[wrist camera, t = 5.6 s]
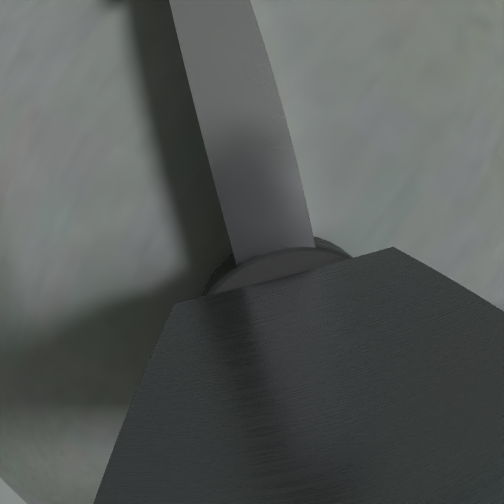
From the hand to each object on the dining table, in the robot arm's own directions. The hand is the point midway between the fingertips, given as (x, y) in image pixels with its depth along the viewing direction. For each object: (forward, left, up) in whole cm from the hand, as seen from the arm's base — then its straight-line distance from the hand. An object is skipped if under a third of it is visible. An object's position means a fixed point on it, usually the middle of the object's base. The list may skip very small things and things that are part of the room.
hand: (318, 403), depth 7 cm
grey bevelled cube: (0, 0, -1) cm, 1 cm away
